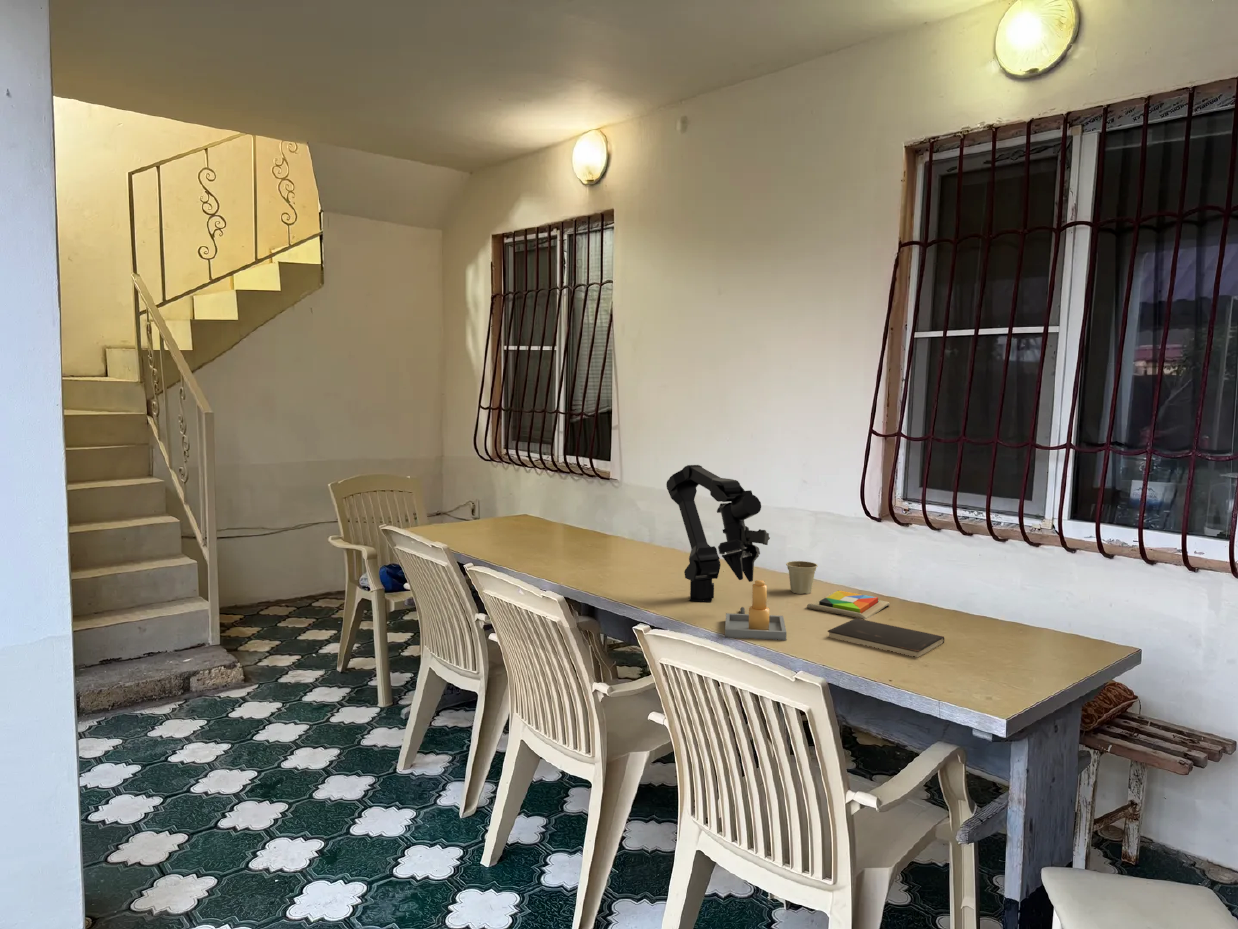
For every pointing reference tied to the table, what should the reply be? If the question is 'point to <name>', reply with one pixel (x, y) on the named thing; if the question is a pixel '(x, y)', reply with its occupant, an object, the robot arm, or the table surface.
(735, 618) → the grey square tray
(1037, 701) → the table surface
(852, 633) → the hardcover book
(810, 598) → the table surface
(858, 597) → the wooden puzzle
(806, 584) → the flower pot
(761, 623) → the orange rounded stepped post
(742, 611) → the rod
